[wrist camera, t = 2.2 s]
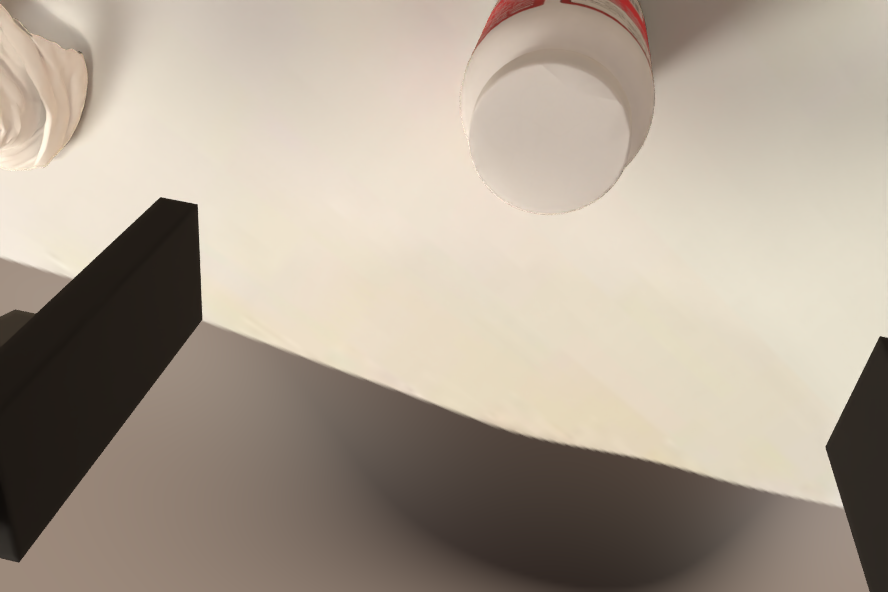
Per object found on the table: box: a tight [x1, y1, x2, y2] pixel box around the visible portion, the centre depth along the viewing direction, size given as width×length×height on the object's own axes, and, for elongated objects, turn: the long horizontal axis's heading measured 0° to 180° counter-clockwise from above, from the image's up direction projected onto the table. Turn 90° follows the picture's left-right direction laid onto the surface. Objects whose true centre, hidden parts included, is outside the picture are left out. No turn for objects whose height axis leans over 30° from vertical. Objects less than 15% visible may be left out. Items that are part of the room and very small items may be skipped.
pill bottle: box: [460, 0, 655, 215], centre depth 29 cm, size 6×6×11 cm
